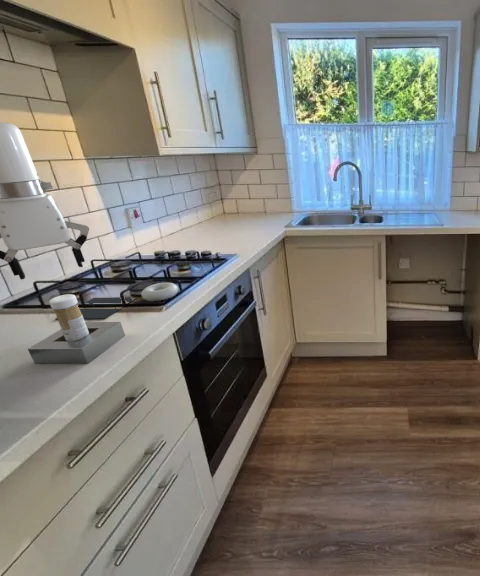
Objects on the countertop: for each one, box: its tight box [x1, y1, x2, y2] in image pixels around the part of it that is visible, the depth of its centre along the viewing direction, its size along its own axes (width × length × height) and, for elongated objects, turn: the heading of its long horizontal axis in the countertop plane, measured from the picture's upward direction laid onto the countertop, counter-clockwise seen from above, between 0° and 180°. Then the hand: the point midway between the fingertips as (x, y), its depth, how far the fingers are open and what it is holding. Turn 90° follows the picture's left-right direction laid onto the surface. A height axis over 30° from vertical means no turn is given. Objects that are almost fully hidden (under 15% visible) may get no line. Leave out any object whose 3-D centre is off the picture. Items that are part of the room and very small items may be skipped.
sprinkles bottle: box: [49, 293, 89, 341], centre depth 83 cm, size 5×5×13 cm
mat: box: [55, 296, 132, 321], centre depth 106 cm, size 14×14×1 cm
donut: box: [140, 282, 179, 303], centre depth 113 cm, size 10×4×10 cm
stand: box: [27, 321, 126, 365], centre depth 85 cm, size 12×12×4 cm
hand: (52, 271), depth 78 cm, fingers open, 9 cm apart
